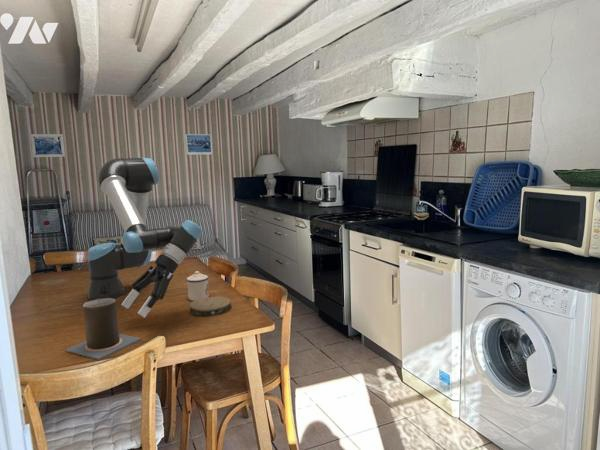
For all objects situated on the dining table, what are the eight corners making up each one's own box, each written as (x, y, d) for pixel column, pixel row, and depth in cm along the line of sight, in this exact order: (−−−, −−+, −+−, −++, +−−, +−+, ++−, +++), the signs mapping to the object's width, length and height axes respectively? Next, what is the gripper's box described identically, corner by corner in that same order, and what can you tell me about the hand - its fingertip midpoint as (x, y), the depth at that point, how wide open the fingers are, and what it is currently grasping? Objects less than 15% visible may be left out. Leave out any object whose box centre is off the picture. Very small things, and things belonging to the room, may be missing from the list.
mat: (65, 351, 135) (64, 349, 135) (108, 333, 149) (108, 331, 149) (98, 360, 128) (98, 358, 128) (141, 340, 142) (141, 338, 142)
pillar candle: (111, 349, 134) (107, 302, 132) (80, 350, 134) (75, 303, 132) (124, 337, 143) (120, 293, 141) (96, 338, 144) (91, 294, 142)
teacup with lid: (211, 299, 183) (209, 272, 181) (189, 302, 180) (187, 275, 178) (207, 291, 194) (205, 266, 192) (186, 294, 191) (184, 269, 189)
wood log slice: (187, 307, 174) (186, 300, 173) (226, 301, 180) (225, 294, 180) (194, 320, 159) (193, 312, 159) (236, 312, 165) (235, 305, 165)
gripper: (146, 249, 159) (109, 298, 151) (179, 257, 141) (139, 313, 133) (161, 260, 164) (126, 308, 156) (195, 270, 146) (157, 325, 138)
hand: (132, 311), depth 144 cm, fingers open, 13 cm apart
